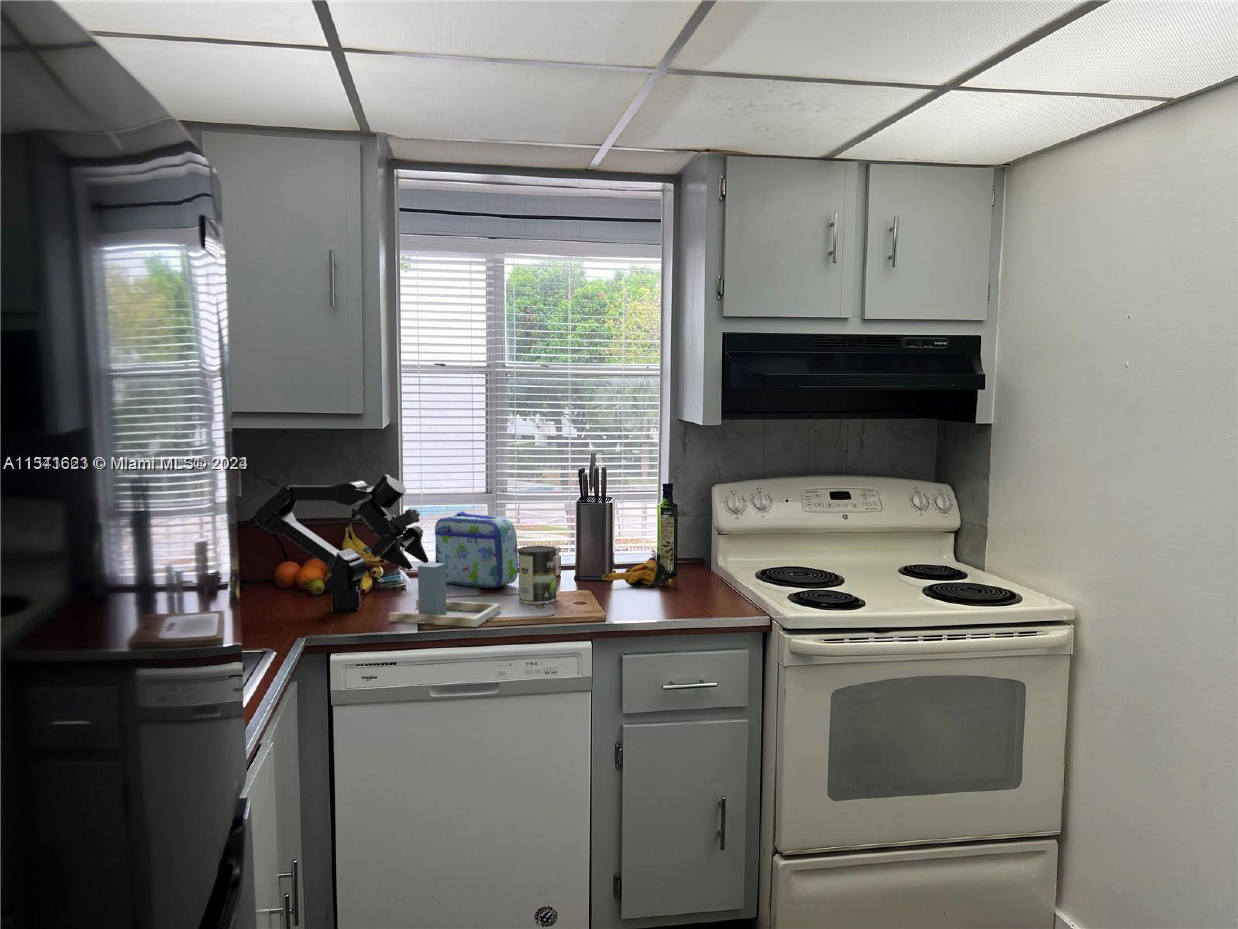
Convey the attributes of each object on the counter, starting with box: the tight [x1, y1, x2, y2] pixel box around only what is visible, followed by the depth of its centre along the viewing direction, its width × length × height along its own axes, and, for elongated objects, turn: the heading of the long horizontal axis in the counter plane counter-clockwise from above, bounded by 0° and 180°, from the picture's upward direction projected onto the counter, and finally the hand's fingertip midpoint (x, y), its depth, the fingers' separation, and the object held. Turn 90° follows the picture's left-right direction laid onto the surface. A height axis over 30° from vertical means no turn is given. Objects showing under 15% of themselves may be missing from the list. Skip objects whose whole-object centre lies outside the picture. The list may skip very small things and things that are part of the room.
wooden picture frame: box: [388, 598, 502, 628], centre depth 219 cm, size 23×15×2 cm, turn 75°
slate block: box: [417, 562, 447, 616], centre depth 219 cm, size 5×5×13 cm
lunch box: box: [434, 511, 519, 589], centre depth 255 cm, size 26×11×21 cm, turn 56°
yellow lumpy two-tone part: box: [601, 556, 670, 589], centre depth 250 cm, size 9×11×18 cm
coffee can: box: [517, 545, 557, 605], centre depth 235 cm, size 10×10×14 cm
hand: (419, 565), depth 220 cm, fingers open, 9 cm apart
